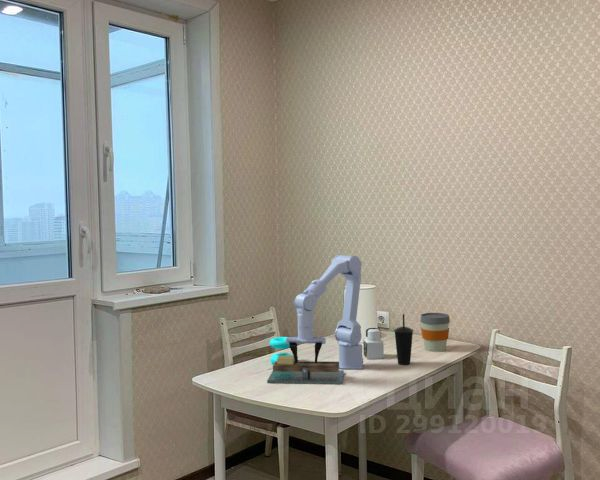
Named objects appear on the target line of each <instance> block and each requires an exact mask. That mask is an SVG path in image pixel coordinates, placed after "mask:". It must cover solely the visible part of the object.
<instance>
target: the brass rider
mask: <svg viewBox="0 0 600 480" xmlns="http://www.w3.org/2000/svg"><path fill="white" fill-rule="evenodd" d="M294 364H295V359H294V356H278V358H277V365H290V366H294Z"/></svg>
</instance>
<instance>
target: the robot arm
mask: <svg viewBox="0 0 600 480" xmlns="http://www.w3.org/2000/svg"><path fill="white" fill-rule="evenodd" d="M330 262H331V264H330V265H329V267H327V269H326V270H325V271H324V272H323V274H322V276H320V278H318V279H314V280H312V281H311V283H310V284H309V286H308V287H306V289H304V291H303V292H302V293H299V294H298V295H297V296H296V297H295V298H294V301H293V305H294V307H295V310H296V314H297V336H293V337H291V336H290V337H288V336H286V337H287V338H286V344H289V343H290V345H289V347H290V348H289V349H290V351H291V354H292V355H293V356H294V359H295V363H297V362H298V361H299V360H298V359H299V356H298V344H314V361H315V364H317V361H318V357H319V353H320V352H321V351H320V350H321V349H322V346H323V345H326V339H327V338H326V337H321V336H320V337H319V336H314V309H315V308H316V306H317V302H318V300H319V299H320V298H321V296H322V295H323V294H324V293H325V292H326V291H327V286H328V284H329V283H330V282H331V281H333V280H334V279H335V277H337V276H338V275H339V274H341V275H343V277H344V278H345V279H346V284H345V294H344V302H343V311H342V317H341V319H339V321H337V323H336V324H337V326H336V329H335V331H334V338H335V340H336V341H337V344H338V353H339V354H338V355H339V357H338V360H339V361H338V362H339V370H340V369H341V370H344V369H345V370H362V369H363V364H364V358H363V344H360V342H361V341H362V332H361V331H362V330H361V329H362V328H361V327H362V326H361V324H360V323H359V322H358V321H357V317H358V306H359V299H360V290H361V289H360V288H361V280H362V273H361V272H362V271H361V270H362V263H363V262H362V261H361V260H360V257H358V256H357V255H343V254H337V255H335V256H334V258H333V259H331V261H330Z"/></svg>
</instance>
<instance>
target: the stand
mask: <svg viewBox="0 0 600 480" xmlns="http://www.w3.org/2000/svg"><path fill="white" fill-rule="evenodd" d="M344 374H345V370H344V369H341V370H340V369H339V371H338V372H308V368H307V367H302V372H277V371H273V370H272V371H271V373H270V375H269V377H268V378H267V380H266V383H267V384H292V385H293V384H294V385H295V384H299V385H301V384H302V385H303V384H304V385H305V384H306V385H307V384H308V385H311V384H312V385H343V381H344Z"/></svg>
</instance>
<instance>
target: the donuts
mask: <svg viewBox="0 0 600 480" xmlns="http://www.w3.org/2000/svg"><path fill="white" fill-rule="evenodd" d="M287 337H288V336H276V337H273V338H271V339H270V341H269V346H270V347H271V348H273V349H276V350H286V349H287V350H288V349H290V347H289V345H290V343H289V344H286V338H287ZM278 356H293V354H292V353H288V352H277V353H274V354H273V355H272V356H271V357H270V358H269V362H270V363H271V364H272V365H274V363H275V361H277V358H278Z"/></svg>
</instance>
